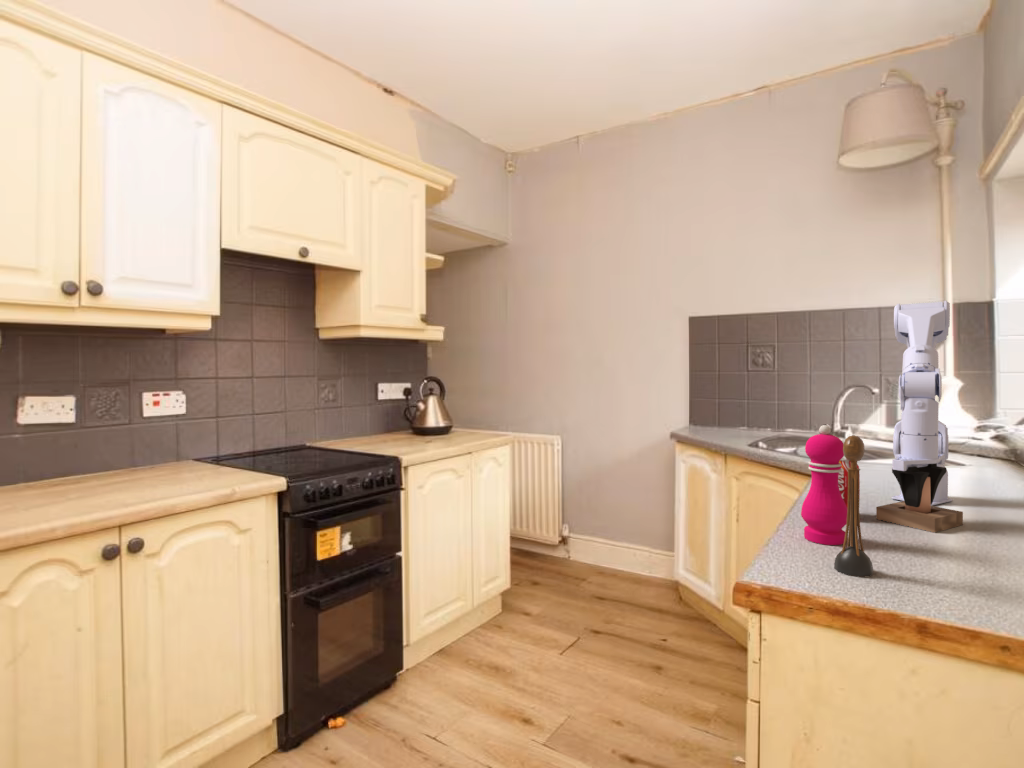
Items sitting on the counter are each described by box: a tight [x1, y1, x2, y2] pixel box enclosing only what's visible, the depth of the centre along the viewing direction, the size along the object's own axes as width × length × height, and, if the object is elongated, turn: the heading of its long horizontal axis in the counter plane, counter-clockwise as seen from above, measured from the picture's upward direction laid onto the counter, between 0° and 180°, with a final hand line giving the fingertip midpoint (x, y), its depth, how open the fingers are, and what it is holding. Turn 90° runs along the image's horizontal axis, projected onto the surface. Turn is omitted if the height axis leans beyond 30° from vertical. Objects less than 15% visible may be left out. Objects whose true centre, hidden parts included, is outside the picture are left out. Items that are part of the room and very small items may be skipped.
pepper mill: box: [800, 424, 847, 546], centre depth 95 cm, size 7×7×20 cm
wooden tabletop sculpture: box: [833, 435, 874, 578], centre depth 81 cm, size 6×5×20 cm
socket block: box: [875, 501, 964, 533], centre depth 105 cm, size 10×10×2 cm
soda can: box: [838, 456, 861, 507], centre depth 110 cm, size 7×7×12 cm
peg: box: [905, 477, 931, 514], centre depth 106 cm, size 4×4×8 cm
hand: (918, 504), depth 105 cm, fingers closed on peg, 4 cm apart
